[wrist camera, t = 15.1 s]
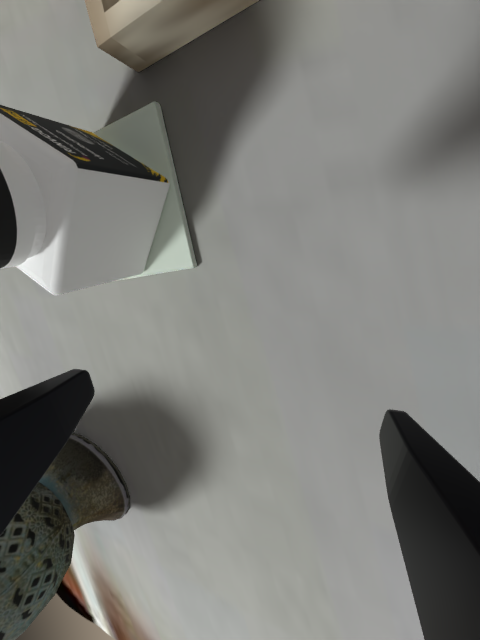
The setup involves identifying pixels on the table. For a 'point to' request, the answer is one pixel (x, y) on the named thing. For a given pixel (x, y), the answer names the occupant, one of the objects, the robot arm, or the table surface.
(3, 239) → the medicine bottle
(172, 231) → the sage mat
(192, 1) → the birch box
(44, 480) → the lantern
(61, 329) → the table surface
